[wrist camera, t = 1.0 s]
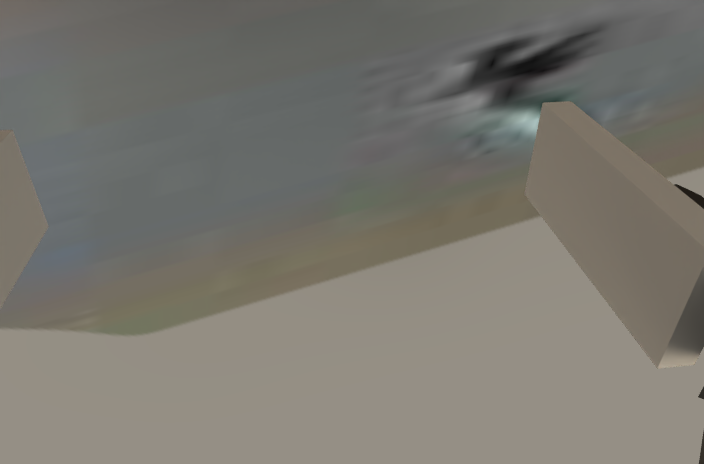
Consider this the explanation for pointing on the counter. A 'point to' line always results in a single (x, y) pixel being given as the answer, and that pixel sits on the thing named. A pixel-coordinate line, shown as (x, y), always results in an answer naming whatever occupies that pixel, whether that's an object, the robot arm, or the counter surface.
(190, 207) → the counter surface
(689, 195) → the robot arm
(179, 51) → the counter surface
